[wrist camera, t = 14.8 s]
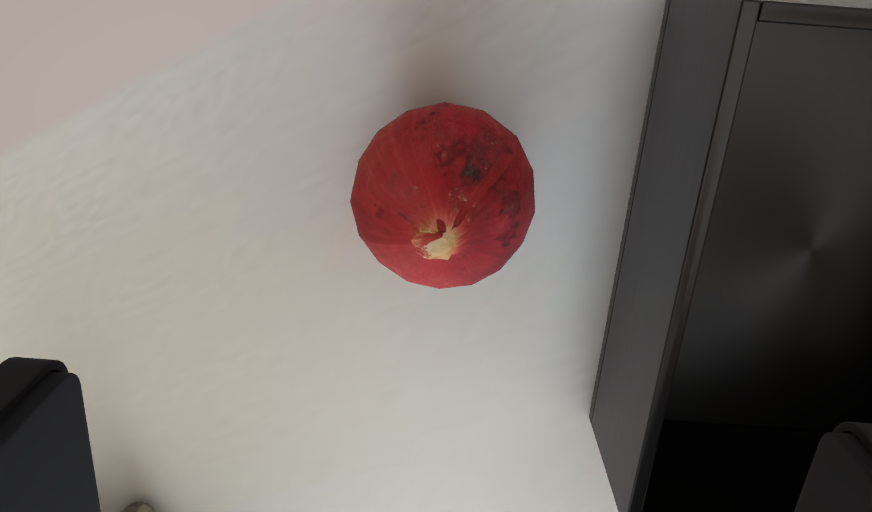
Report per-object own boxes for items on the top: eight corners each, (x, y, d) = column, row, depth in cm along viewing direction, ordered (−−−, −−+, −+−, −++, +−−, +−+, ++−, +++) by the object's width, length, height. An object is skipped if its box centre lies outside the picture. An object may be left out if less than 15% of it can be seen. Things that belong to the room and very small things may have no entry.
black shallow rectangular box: (667, -7, 23) (742, -2, 17) (1080, 25, 23) (1301, 42, 17) (588, 417, 29) (623, 530, 23) (913, 441, 30) (1031, 559, 24)
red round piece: (427, 53, 24) (416, 87, 17) (555, 149, 25) (598, 221, 18) (337, 183, 26) (291, 266, 18) (460, 267, 27) (463, 377, 20)
